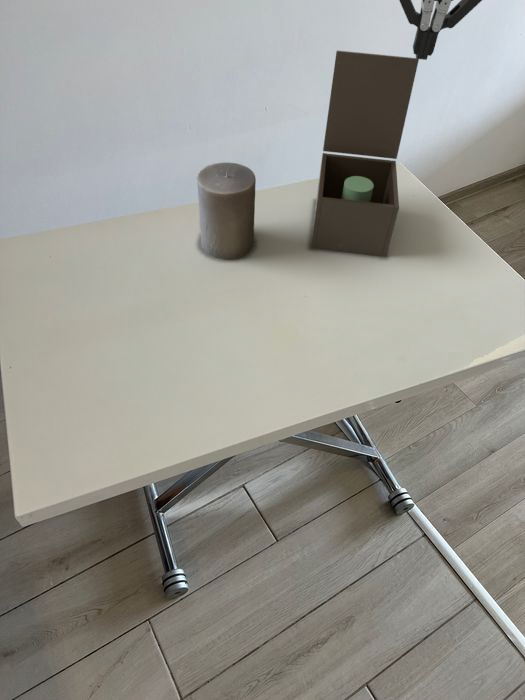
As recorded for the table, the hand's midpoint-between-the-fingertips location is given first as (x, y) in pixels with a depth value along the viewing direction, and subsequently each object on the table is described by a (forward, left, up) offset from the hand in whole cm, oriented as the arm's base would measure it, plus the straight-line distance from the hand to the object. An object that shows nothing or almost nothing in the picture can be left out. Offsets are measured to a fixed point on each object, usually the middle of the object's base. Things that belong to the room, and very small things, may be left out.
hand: (421, 57), depth 77 cm
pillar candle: (+27, +8, -32) cm, 43 cm away
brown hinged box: (+5, -1, -31) cm, 32 cm away
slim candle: (+5, -1, -31) cm, 31 cm away
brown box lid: (+5, -9, -12) cm, 16 cm away
